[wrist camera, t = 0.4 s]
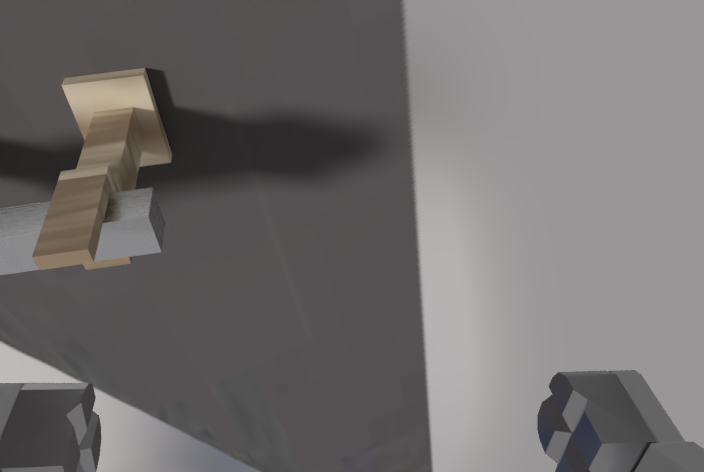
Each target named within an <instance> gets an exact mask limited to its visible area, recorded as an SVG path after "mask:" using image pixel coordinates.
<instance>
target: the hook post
mask: <svg viewBox="0 0 704 472" xmlns="http://www.w3.org/2000/svg"><path fill="white" fill-rule="evenodd" d="M62 87H63V90H64V92H65V95H66V97H67V99H68V102H69V104H70V107H71V109H72V111H73V114H74V116H75V118H76V121H77V123H78V126H79V128H80V130H81V133H82V135H83V138H84V140H85V142H84V145H83V148H82V152H81V155H80V158H79V161H78V164H77V168H76V169H74V170H66V171H61V173H60V176H59V179H58V182H57V185H56V188H55V191H54V193H53V196H52V199H51V202H50V205H49V208H48V211H47V214H46V217H45V220H44V223H43V226H42V229H41V232H40V235H39V238H38V241H37V243H36V246H35V249H34V252H33V255H32V258H33V260H34V262H35V264H36V265H37V267H38V269H39V270H43V269H50V268H57V267H64V266H71V265H78V264H83V265H84V267H85V269H86V270H89V269H96V268H103V267H110V266H117V265H124V264H131V262H132V256H131V257H124V258H117V259H110V260H103V261H96V262H94V259H95V255H96V251H97V246H98V242H99V238H100V234H101V229H102V225H103V221H104V216H105V212H106V208H107V203H108V199H109V195H110V193H115V192H122V191H130V190H135V187H136V182H137V176H138V171H139V167H142V166H149V165H157V164H164V163H171V159H172V153H171V149H170V146H169V143H168V140H167V137H166V133H165V130H164V127H163V124H162V121H161V117H160V114H159V111H158V108H157V105H156V101H155V98H154V95H153V92H152V89H151V85H150V82H149V79H148V76H147V73H146V69H145V68H140V69H132V70H124V71H116V72H108V73H100V74H92V75H84V76H76V77H68V78H65V79H64V81H63V84H62Z"/></svg>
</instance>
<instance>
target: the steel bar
mask: <svg viewBox="0 0 704 472" xmlns="http://www.w3.org/2000/svg"><path fill="white" fill-rule="evenodd" d="M50 202H51V201H49V202H42V203H35V204H27V205H20V206H13V207H5V208H0V275H5V274H12V273H19V272H26V271H33V270H39V269H38V267H37V265H36V264H35V262H34V260H33V258H32V255H33V252H34V249H35V246H36V243H37V241H38V238H39V235H40V232H41V229H42V226H43V223H44V220H45V217H46V214H47V211H48V208H49V205H50ZM164 227H165V220H164V217H163V215H162V212H161V209H160V206H159V203H158V200H157V198H156V195H155V192H154V189H153V187H152V188H144V189H137V190H130V191H122V192H115V193H110V195H109V199H108V203H107V208H106V212H105V216H104V221H103V225H102V229H101V234H100V238H99V242H98V246H97V251H96V255H95V259H94V262H96V261H103V260H110V259H117V258H124V257H131V256H138V255H145V254H152V253H159V252H162V244H163V236H164Z"/></svg>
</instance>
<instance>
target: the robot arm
mask: <svg viewBox="0 0 704 472" xmlns="http://www.w3.org/2000/svg"><path fill="white" fill-rule="evenodd" d="M549 388H550V390H551V392H552V394H553V395H551V396H550V397H549V398H547V399H546V400H545V401H543V402H542V404H541V407H540V410H539V413H538V434H539V438H540V442H541V444H542V447H543V449H544V451H545V453H546V454H547V455H548V456H549V457H550V458H552V459H553V460H554V461H555V462H557V463H558V464H557V468H556V471H555V472H704V449H703V448H702V447H700V446H699V445H697V444H696V443H694V442H685V440H684V439H683V437H682V436H681V434H680V432H679V431H678V429H677V428H676V426H675V425H674V424H673V422H672V420H671V419H670V417H669V416H668V414H667V413H666V411H665V410H664V408H663V407H662V405H661V404H660V402H659V401H658V399H657V398H656V396H655V395H654V394H653V392H652V390H651V389H650V387H649V386H648V384H647V383H646V381H645V380H644V378H643V377H642V375H641V374H639V373H638V372H637V371H635V370H630V371H629V370H625V371H587V372H586V371H583V372H558V373H557V374H556V375H554V376H553V378H552V380H551V382H550V384H549ZM94 402H95V394H94V389H93V385H92V384H90V383H5V384H4V383H3V384H2V383H0V472H96V469H97V465H98V460H99V455H100V445H101V425H100V419H99V415H97V414H96V413H95V412H93V411H92V409H93V406H94Z"/></svg>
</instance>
